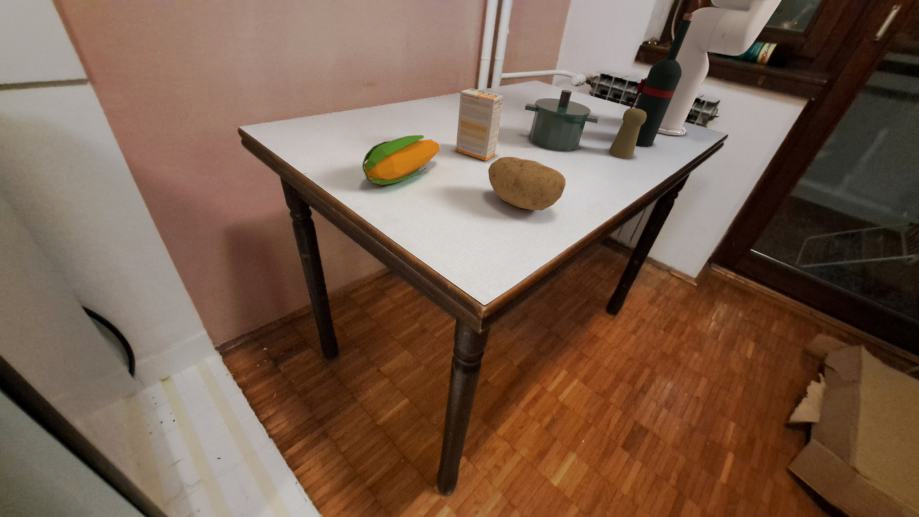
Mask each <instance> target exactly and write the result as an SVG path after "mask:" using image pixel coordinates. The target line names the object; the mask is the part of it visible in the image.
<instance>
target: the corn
mask: <svg viewBox="0 0 919 517" xmlns="http://www.w3.org/2000/svg"><path fill="white" fill-rule="evenodd" d="M424 138H425V136H424V135H423V134H418V135H417V134H416V135H415V134H414V135H405V136H401V137H399V138H395V139H392V140H388V141H383V142H381V143H378V144H375V145H373V146H372V147H371V148H370V149H369V150H368V152H367V153H366V154H365V156H364V158H363V161H362V165H361V167H362V170H363V173H364V175H365V178H366V179H367V181H370V182H372V183H373V184H376V185H380V186H384V185H392V184H396V183H401V182H404V181H405V180H408V179H410V178H413V177H414V176H416V175H418V174H419V173H421V172H423V171H424V170H426V169H427V167H424V166H425V165H427V164H428V163H429V162H430V161H431V160H432V159H433V158H434V157H435V156H436V155H437V154H438V153H439V152H440V150H441V148H440V143H438V142H437V141H435V140H433V139H424ZM423 167H424V168H423ZM421 168H423V169H421Z"/></svg>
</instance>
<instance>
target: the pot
mask: <svg viewBox="0 0 919 517" xmlns="http://www.w3.org/2000/svg"><path fill="white" fill-rule="evenodd" d="M524 111H529V112H534V114H533V119H532V124H531V129H530V133H529V140H530V141H531V143H532V144H534V145H535V146H538V147H541V148H543V149H547V150H551V151H556V152H573V151H575V150H577V149H578V148H579V145H580V143H581V142H580V141H581V140H582V136H583V131H584V128H585V125H586V122H588V123H593V124H598V121H599V116H596V115H591V114H589V115H588V116H584V117H569V116H562V115H556V114H552V113H549V112H546V111H543V110H541V109H539V108H538V107H536V105H535V104H531V103H526V104H525V105H524Z"/></svg>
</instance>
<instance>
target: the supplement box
mask: <svg viewBox="0 0 919 517" xmlns="http://www.w3.org/2000/svg"><path fill="white" fill-rule="evenodd" d="M459 96H460V97H459V105H458V106H459V108H458V120H457V132H456V146H455V152H457V153H461V154H464V155H466V156H470V157H473V158H476V159H479V160H482V161H485V162H486V161H487V160H488V161H489V160H490V159H491V158H493V157H495V156H496V151H497V146H498V139H499V138H498V137H499V131H500V124H501V119H502V118H501V117H502V111H503V105H504V97H505V96H504V95H502V94H497V93H493V92H489V91H484V90H481V89H476V88H473V87H471V88H468V89H464V90H461V91H460V95H459Z"/></svg>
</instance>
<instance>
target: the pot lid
mask: <svg viewBox="0 0 919 517" xmlns="http://www.w3.org/2000/svg"><path fill="white" fill-rule="evenodd" d="M571 96H572V90H569V89H561V91H560V96H559V98H554V97H553V98H549V97H547V98H546V97H545V98H539V99H536V100H535V102H534V105H536V107H538V108H539V109H541V110H543V111H546V112H549V113H552V114H556V115H562V116H569V117H584V116H588V115H591V112H592V110H591V109H590V108H589V107H588V106H586V105H584V104H582V103H579V102H576V101H572V100H571Z"/></svg>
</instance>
